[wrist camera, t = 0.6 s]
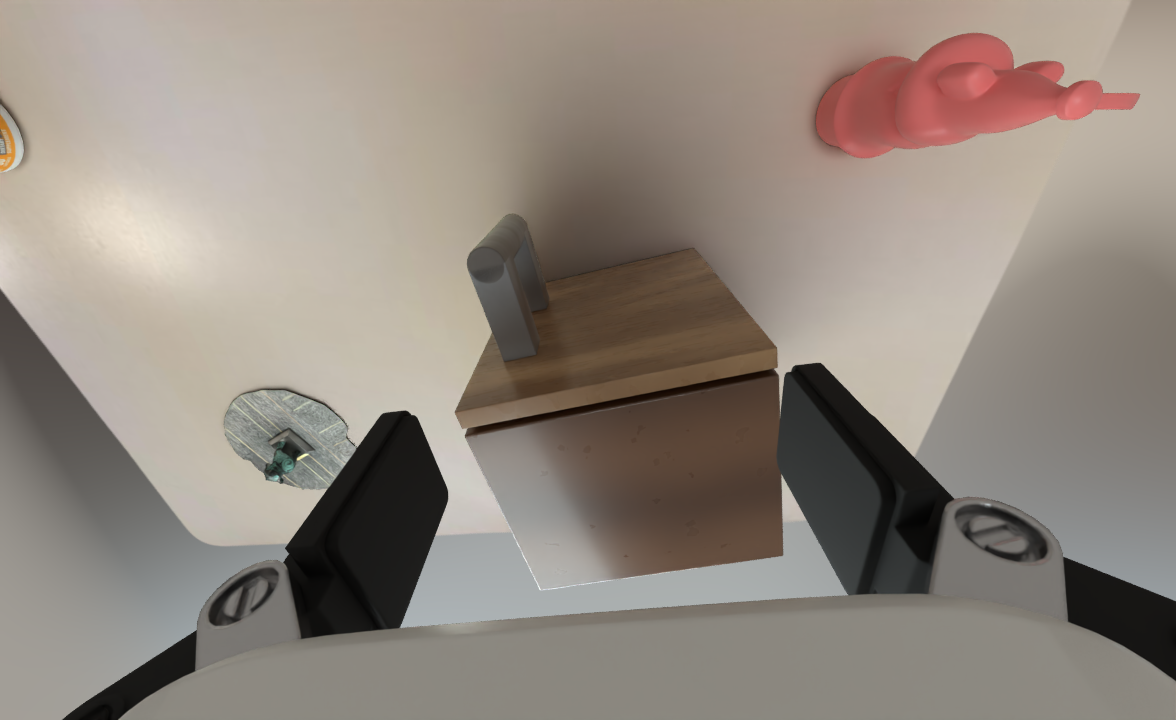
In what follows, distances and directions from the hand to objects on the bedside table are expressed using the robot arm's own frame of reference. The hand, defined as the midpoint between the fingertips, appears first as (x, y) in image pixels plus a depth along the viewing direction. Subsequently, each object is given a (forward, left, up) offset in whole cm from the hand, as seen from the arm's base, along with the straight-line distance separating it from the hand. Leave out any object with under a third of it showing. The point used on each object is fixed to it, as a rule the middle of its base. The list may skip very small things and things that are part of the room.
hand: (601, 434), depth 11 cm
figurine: (-17, +5, -23) cm, 29 cm away
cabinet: (+5, +8, -22) cm, 25 cm away
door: (0, 0, -22) cm, 22 cm away
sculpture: (+34, -6, -23) cm, 41 cm away
